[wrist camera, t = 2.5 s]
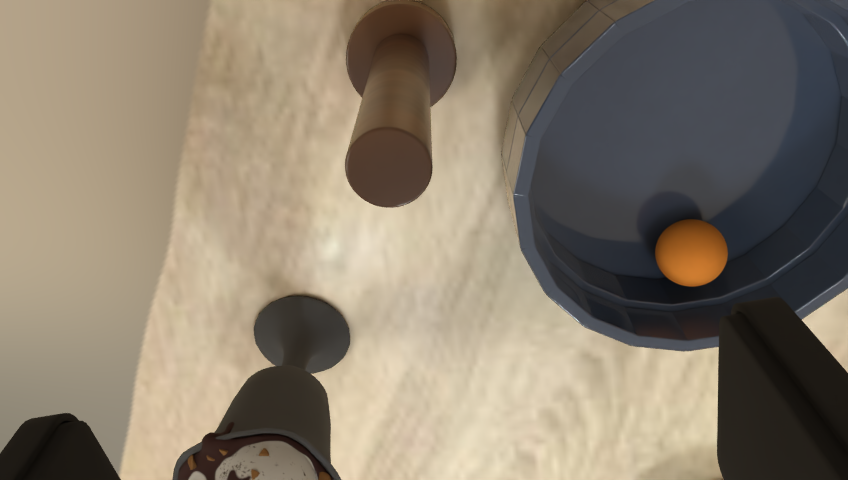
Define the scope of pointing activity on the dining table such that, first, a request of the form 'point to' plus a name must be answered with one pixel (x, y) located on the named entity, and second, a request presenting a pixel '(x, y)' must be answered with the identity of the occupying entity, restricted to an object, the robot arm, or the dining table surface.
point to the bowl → (683, 160)
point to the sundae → (278, 402)
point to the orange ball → (691, 252)
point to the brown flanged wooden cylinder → (396, 99)
